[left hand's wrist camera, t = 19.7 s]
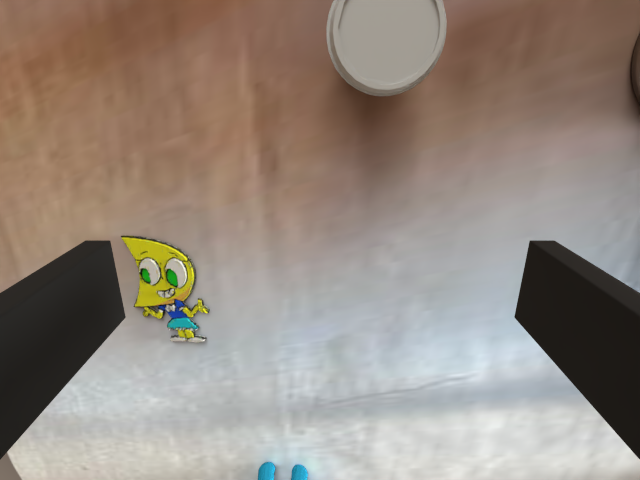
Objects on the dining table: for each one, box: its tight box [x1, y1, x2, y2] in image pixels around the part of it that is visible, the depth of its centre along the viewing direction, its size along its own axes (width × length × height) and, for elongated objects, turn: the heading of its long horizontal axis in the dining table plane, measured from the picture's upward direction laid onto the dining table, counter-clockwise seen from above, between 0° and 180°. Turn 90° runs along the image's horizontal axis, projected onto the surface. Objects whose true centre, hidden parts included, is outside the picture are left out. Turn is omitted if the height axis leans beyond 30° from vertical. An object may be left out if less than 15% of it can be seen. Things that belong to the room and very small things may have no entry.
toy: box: [121, 236, 209, 343], centre depth 50 cm, size 10×1×15 cm
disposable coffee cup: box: [326, 0, 447, 96], centre depth 35 cm, size 10×10×12 cm
